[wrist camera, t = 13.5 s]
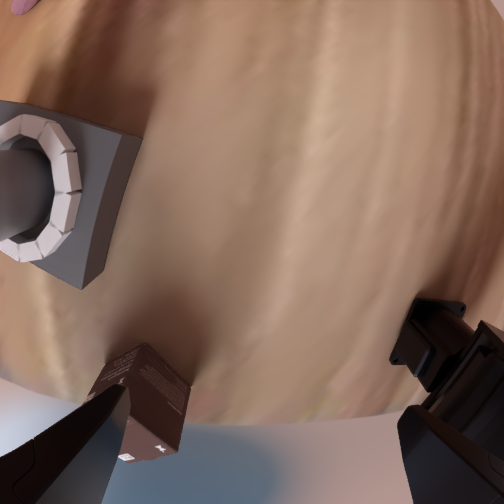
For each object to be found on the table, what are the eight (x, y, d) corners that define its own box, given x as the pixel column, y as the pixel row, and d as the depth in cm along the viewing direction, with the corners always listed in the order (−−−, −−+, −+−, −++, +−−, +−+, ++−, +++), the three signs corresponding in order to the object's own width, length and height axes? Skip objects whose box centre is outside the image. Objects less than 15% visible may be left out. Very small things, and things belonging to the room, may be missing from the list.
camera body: (143, 138, 17) (113, 133, 13) (103, 270, 20) (72, 298, 16) (25, 103, 16) (-13, 98, 11) (0, 217, 18) (-36, 230, 14)
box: (146, 339, 22) (116, 403, 15) (193, 387, 23) (180, 453, 16) (103, 365, 23) (70, 421, 16) (147, 407, 24) (128, 465, 17)
